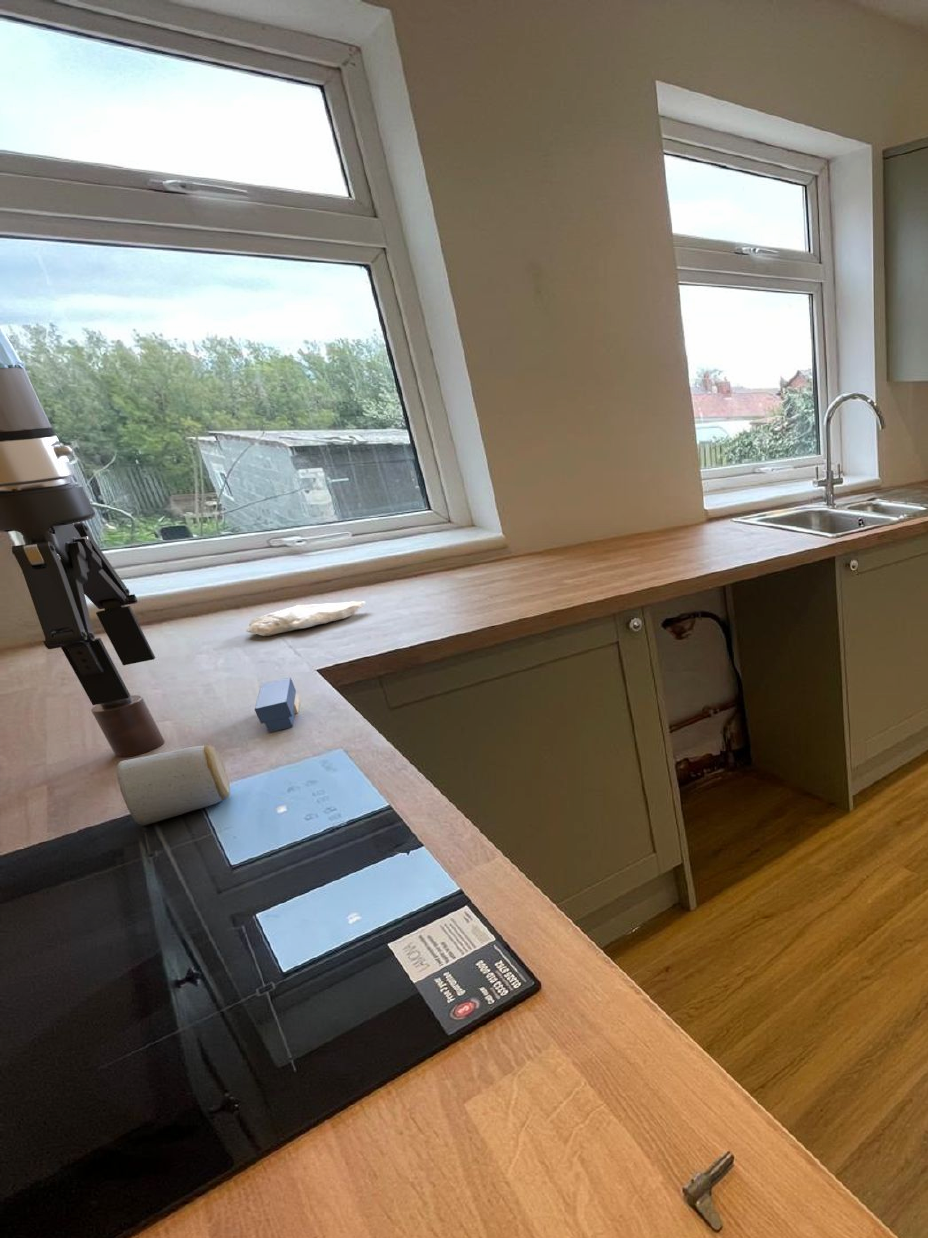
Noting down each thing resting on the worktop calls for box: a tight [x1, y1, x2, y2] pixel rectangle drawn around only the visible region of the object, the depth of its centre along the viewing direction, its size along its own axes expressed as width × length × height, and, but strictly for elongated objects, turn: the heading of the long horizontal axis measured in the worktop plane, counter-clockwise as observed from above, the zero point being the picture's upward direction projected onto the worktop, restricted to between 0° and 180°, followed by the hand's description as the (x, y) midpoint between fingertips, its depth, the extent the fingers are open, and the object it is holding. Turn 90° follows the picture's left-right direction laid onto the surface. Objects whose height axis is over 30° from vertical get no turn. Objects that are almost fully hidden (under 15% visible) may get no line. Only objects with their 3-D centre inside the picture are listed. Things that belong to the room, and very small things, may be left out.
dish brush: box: [254, 677, 301, 734], centre depth 106 cm, size 11×4×4 cm, turn 35°
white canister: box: [116, 745, 231, 826], centre depth 84 cm, size 11×8×8 cm
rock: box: [246, 600, 366, 637], centre depth 146 cm, size 4×13×20 cm
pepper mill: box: [90, 694, 165, 758], centre depth 98 cm, size 5×5×9 cm
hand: (126, 680), depth 79 cm, fingers open, 13 cm apart
